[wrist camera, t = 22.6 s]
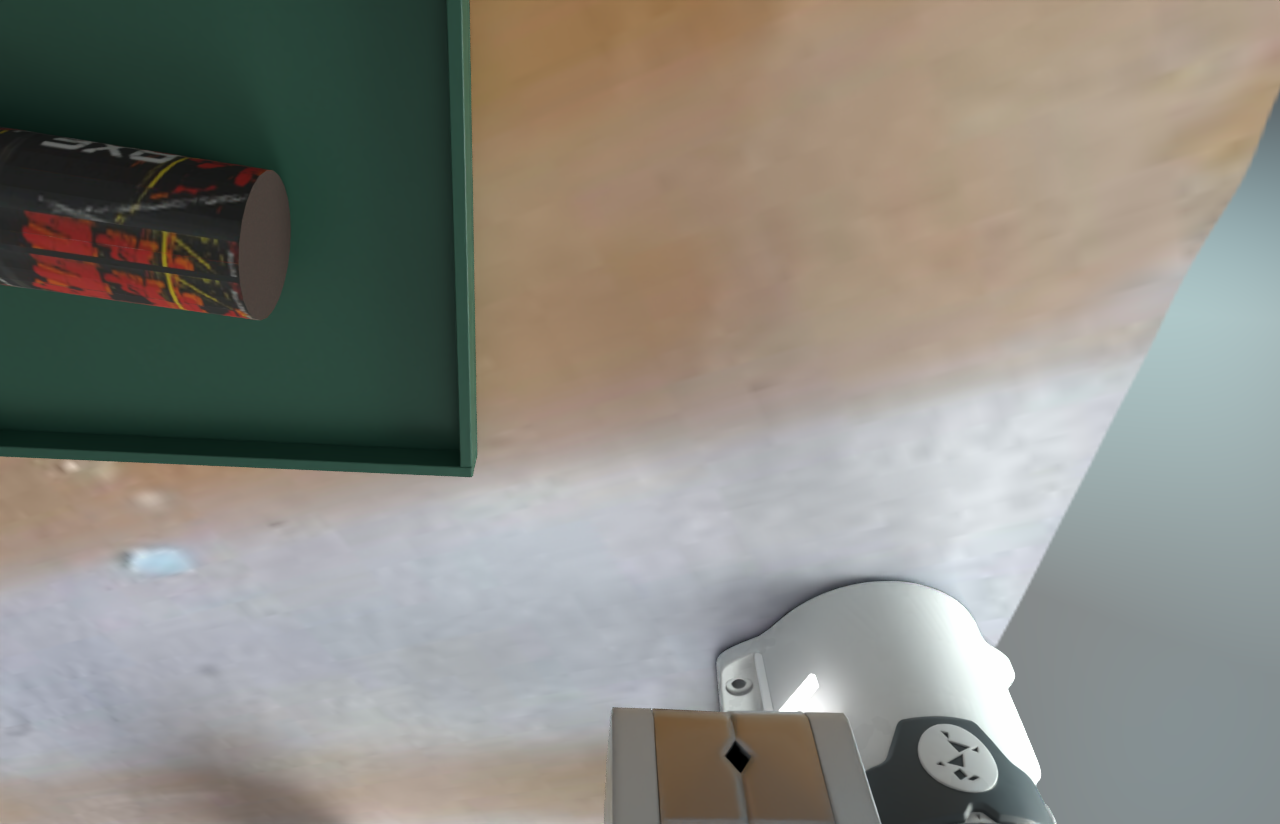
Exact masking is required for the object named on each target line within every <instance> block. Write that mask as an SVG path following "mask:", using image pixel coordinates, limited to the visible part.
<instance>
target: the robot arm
mask: <svg viewBox="0 0 1280 824" xmlns="http://www.w3.org/2000/svg"><path fill="white" fill-rule="evenodd" d="M716 668H717V680H718V692H719V704H720V712H715V711H694V710H673V709H652V710H651V709H648V708H618V707H613V708H612V710H611V717H610V729H609V740H608V752H607V764H606V783H605V802H604V824H1056V821H1055V819H1054V816H1053V814H1052V812H1051V811H1050V809H1049V807H1048V806H1047V805H1045V803H1044V801H1043V799H1042V797H1041V795H1040V793H1039V791H1038V789H1037V787H1036V784H1037V781H1038V780H1040V775H1041V772H1040V767H1039V764H1038V761H1037V759H1036V756H1035V754H1034V751H1033V749H1032V746H1031V744H1030V741H1029V739H1028V737H1027V734H1026V732H1025V729H1024V727H1023V724H1022V722H1021V720H1020V718H1019V715H1018V712H1017V710H1016V708H1015V706H1014V703H1013V701H1012V699H1011V696H1010V694H1009V691H1008V688H1009V687H1010V685H1011V684H1012V682H1013V680H1014V678H1015V673H1014V671H1013V668H1012V665H1011V663H1010V661H1009V659H1008V658H1007V657H1006V656H1005V655H1004V654H1003V653H1002V652H1000V651H999V650H997V649H996V648H994V647H993V646H991V645H989V644H988V643H986V642H985V640H984V639H983V637H982V636H981V634H980V631H979V629H978V627H977V625H976V623H975V621H974V619H973V617H972V616H971V614H970V613H969V612H968V611H967V609H966V608H965V607H964V606H963V605H961V604H960V603H959V602H958V601H957V600H955V599H954V598H952V597H951V596H949V595H947V594H945V593H943V592H941V591H939V590H937V589H934V588H931V587H928V586H925V585H921V584H916V583H910V582H902V581H874V582H865V583H858V584H853V585H849V586H845V587H841V588H838V589H834V590H831V591H829V592H826V593H823V594H821V595H819V596H816V597H814V598H812V599H810V600H808V601H806V602H804V603H803V604H801V605H799V606H798V607H796V608H795V609H793V610H792V611H790V612H789V613H788V614H786V615H785V616H784V617H783V618H781V619H780V620H779V621H778V622H777V623H775V624H774V625H773V626H772V627H771V628H770V629H768V630H767V631H766V632H764V633H763V634H761V635H759V636H757V637H755V638H752V639H750V640H747V641H745V642H742V643H740V644H737V645H735V646H733V647H731V648H729V649H727V650H726V651H724V652H723V653H721V654H720V655H719V657H718V659H717V662H716Z"/></svg>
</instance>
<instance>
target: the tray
mask: <svg viewBox="0 0 1280 824" xmlns="http://www.w3.org/2000/svg"><path fill="white" fill-rule="evenodd" d="M0 127H6V128H12V129H18V130H25V131H31V132H37V133H43V134H49V135H56V136H62V137H68V138H74V139H81V140H87V141H93V142H99V143H106V144H112V145H118V146H124V147H130V148H137V149H143V150H149V151H155V152H162V153H168V154H174V155H180V156H186V157H193V158H199V159H205V160H211V161H218V162H224V163H230V164H236V165H242V166H249V167H255V168H261V169H267V170H273V171H274V172H276V173H277V174H278V175H279V176H280V178H281V180H282V182H283V184H284V186H285V189H286V193H287V197H288V202H289V209H290V223H291V239H290V253H289V261H288V268H287V273H286V277H285V282H284V285H283V289H282V292H281V295H280V298H279V300H278V302H277V304H276V306H275V308H274V310H273V311H272V312H271V313H270V315H269V316H268V317H267V318H265V319H263V320H253V319H246V318H239V317H232V316H224V315H217V314H210V313H203V312H195V311H188V310H181V309H174V308H166V307H159V306H152V305H145V304H137V303H130V302H123V301H115V300H108V299H101V298H94V297H86V296H79V295H72V294H65V293H57V292H50V291H43V290H36V289H28V288H21V287H14V286H7V285H0V456H4V457H27V458H50V459H72V460H95V461H118V462H140V463H163V464H186V465H208V466H231V467H254V468H276V469H299V470H322V471H344V472H367V473H390V474H412V475H435V476H458V477H472V476H473V471H474V467H475V463H476V458H477V411H476V353H475V295H474V237H473V178H472V120H471V62H470V4H469V0H0Z"/></svg>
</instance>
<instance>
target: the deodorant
mask: <svg viewBox="0 0 1280 824" xmlns="http://www.w3.org/2000/svg"><path fill="white" fill-rule="evenodd" d="M290 239H291V223H290V209H289V202H288V197H287V193H286V189H285V186H284V184H283V182H282V180H281V178H280V176H279V175H278V174H277V173H276V172H274V171H273V170H267V169H261V168H255V167H249V166H242V165H236V164H230V163H224V162H218V161H211V160H205V159H199V158H193V157H186V156H180V155H174V154H168V153H162V152H155V151H149V150H143V149H137V148H130V147H124V146H118V145H112V144H106V143H99V142H93V141H87V140H81V139H74V138H68V137H62V136H56V135H49V134H43V133H37V132H31V131H25V130H18V129H12V128H6V127H0V285H7V286H14V287H21V288H28V289H36V290H43V291H50V292H57V293H65V294H72V295H79V296H86V297H94V298H101V299H108V300H115V301H123V302H130V303H137V304H145V305H152V306H159V307H166V308H174V309H181V310H188V311H195V312H203V313H210V314H217V315H224V316H232V317H239V318H246V319H253V320H263V319H265V318H267V317H268V316H269V315H270V313H271V312H272V311H273V310H274V308H275V306H276V304H277V302H278V300H279V298H280V295H281V292H282V289H283V285H284V282H285V277H286V273H287V268H288V261H289V253H290Z"/></svg>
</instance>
